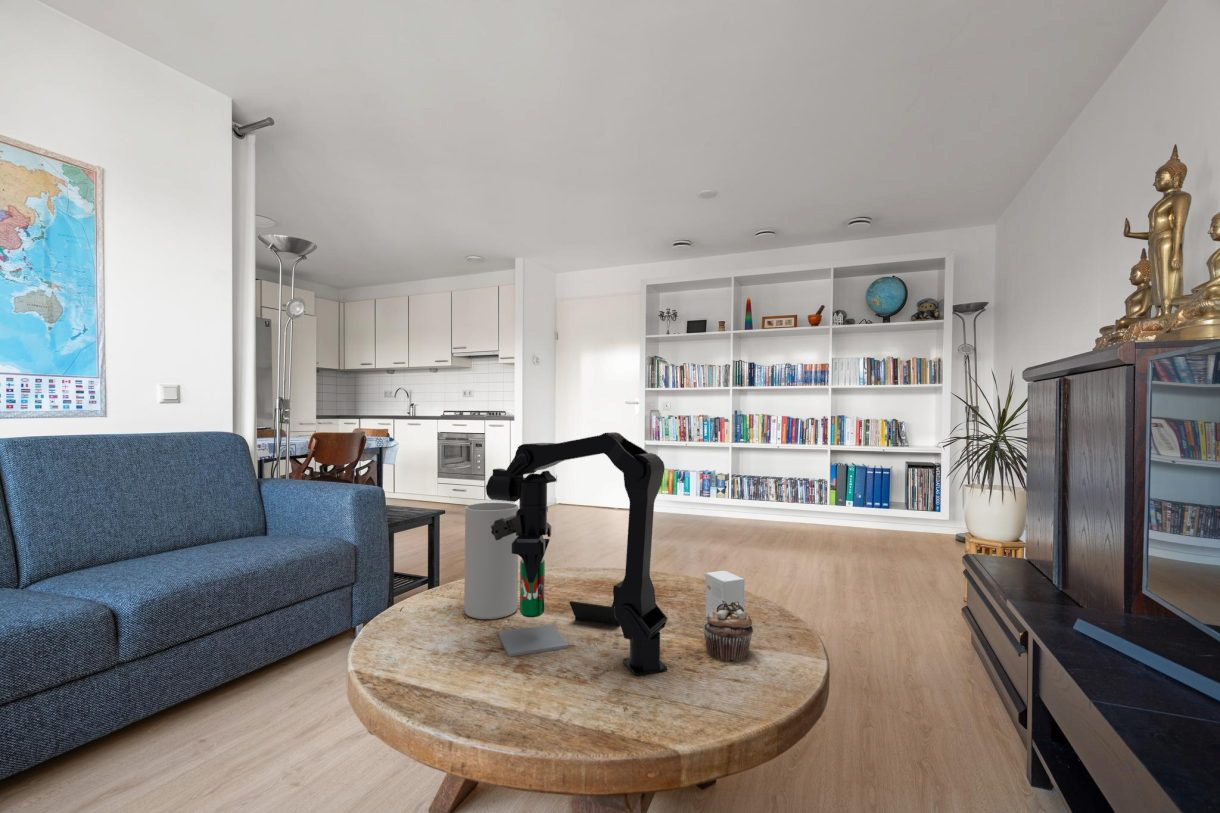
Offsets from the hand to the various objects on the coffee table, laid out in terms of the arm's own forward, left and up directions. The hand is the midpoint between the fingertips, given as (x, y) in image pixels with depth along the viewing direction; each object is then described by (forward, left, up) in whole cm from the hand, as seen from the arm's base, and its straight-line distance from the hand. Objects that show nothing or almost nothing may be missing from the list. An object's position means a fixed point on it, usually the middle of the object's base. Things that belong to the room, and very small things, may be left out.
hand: (532, 578), depth 118 cm
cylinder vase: (+21, +5, -13) cm, 25 cm away
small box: (-4, -44, -13) cm, 46 cm away
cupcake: (-19, -35, -13) cm, 42 cm away
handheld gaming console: (+6, -17, -13) cm, 22 cm away
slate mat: (0, 0, -13) cm, 13 cm away
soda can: (0, 0, -8) cm, 8 cm away
